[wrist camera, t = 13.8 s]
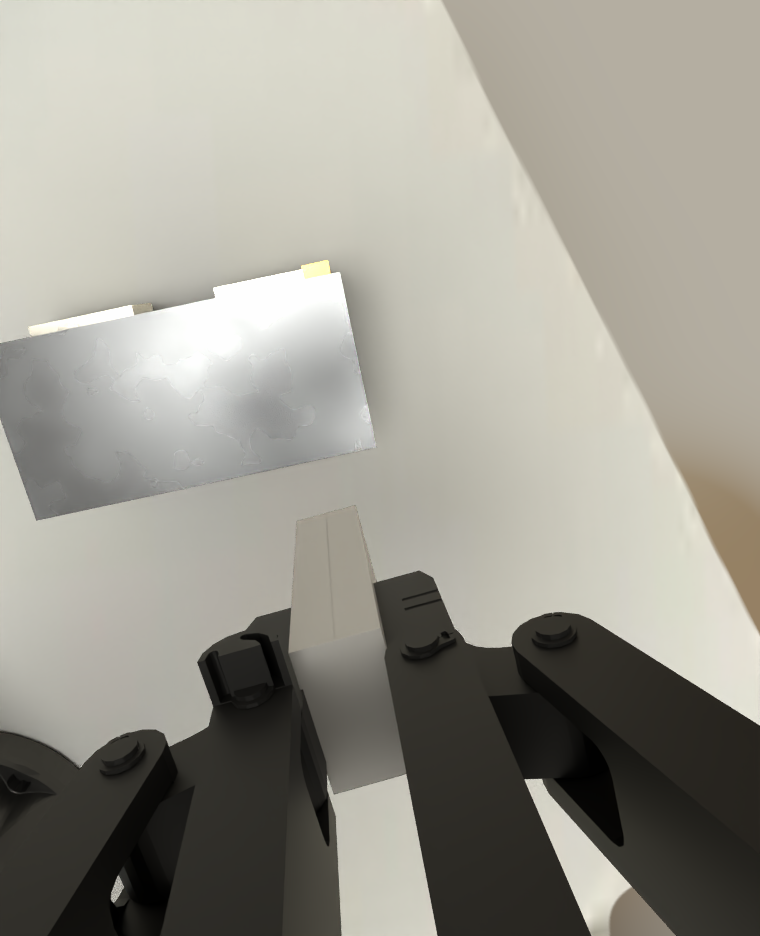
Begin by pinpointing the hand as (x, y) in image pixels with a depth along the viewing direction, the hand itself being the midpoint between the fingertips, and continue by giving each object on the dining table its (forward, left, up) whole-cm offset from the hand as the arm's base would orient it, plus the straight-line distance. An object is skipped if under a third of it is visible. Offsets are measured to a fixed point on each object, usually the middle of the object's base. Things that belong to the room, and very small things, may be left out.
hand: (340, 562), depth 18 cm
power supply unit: (-6, +3, -24) cm, 25 cm away
